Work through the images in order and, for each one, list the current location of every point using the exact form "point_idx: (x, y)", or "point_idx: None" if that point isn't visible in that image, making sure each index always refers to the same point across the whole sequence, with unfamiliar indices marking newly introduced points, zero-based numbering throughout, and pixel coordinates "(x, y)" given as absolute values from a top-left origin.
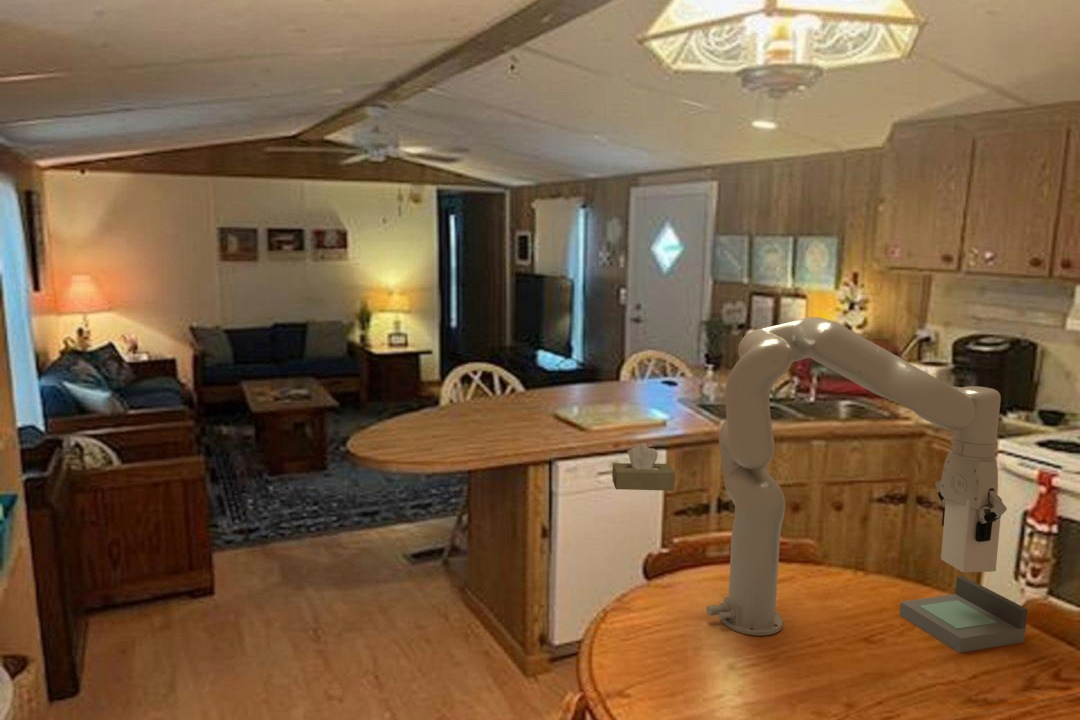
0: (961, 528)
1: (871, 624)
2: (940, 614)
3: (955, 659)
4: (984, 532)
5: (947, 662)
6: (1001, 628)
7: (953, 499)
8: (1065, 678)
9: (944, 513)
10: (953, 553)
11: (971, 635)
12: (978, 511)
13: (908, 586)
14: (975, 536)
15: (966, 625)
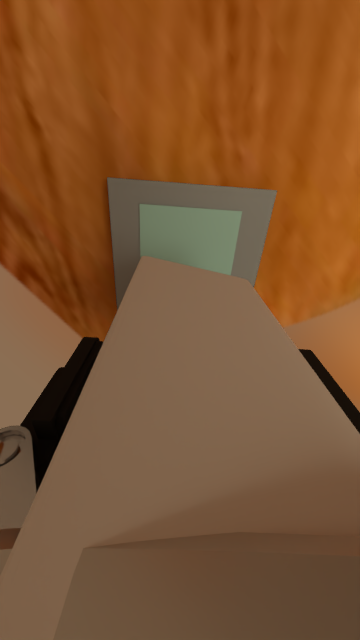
0: (156, 340)
1: (270, 74)
2: (195, 223)
3: (96, 146)
4: (47, 387)
5: (88, 114)
6: (125, 289)
7: (322, 590)
8: (25, 279)
9: (337, 401)
10: (195, 281)
11: (114, 213)
12: (8, 525)
13: (326, 301)
14: (98, 351)
15: (144, 234)
